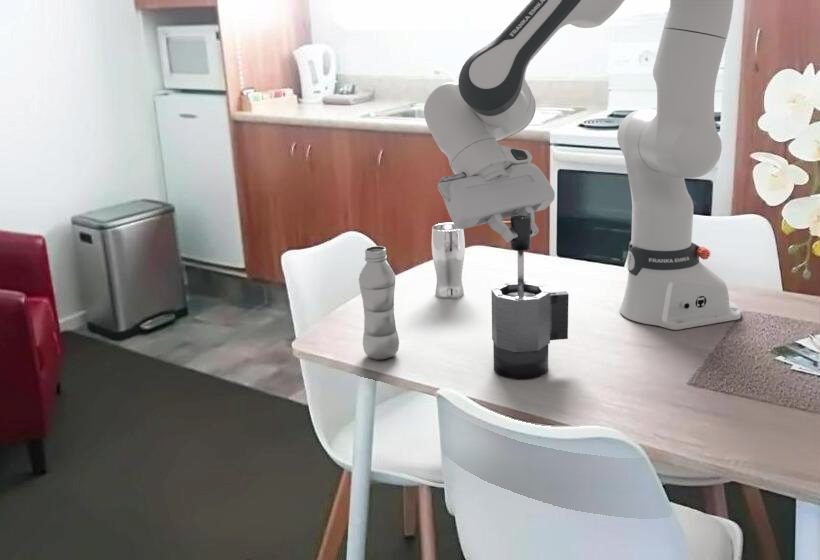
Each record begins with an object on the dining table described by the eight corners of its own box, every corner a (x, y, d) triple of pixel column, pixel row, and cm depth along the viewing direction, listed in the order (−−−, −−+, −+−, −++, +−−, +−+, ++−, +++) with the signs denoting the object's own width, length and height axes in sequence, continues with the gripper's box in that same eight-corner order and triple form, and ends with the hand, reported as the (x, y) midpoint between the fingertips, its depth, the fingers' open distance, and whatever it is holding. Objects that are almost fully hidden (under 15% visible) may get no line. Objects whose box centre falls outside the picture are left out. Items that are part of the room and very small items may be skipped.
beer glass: (463, 300, 179) (461, 231, 174) (430, 299, 180) (428, 230, 175) (468, 289, 185) (466, 222, 181) (436, 288, 187) (434, 222, 182)
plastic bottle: (405, 351, 154) (400, 245, 148) (389, 366, 149) (383, 256, 142) (373, 347, 157) (367, 242, 151) (356, 361, 151) (349, 253, 145)
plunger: (531, 293, 144) (532, 213, 140) (539, 303, 139) (539, 220, 135) (502, 296, 144) (502, 215, 139) (509, 306, 139) (508, 222, 135)
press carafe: (558, 353, 151) (559, 278, 146) (573, 375, 142) (575, 296, 137) (488, 359, 149) (487, 284, 145) (499, 381, 141) (499, 302, 136)
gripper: (441, 166, 134) (483, 239, 130) (535, 149, 145) (577, 215, 141) (425, 190, 139) (465, 260, 134) (517, 171, 150) (557, 236, 146)
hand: (523, 237), depth 138 cm, fingers closed on plunger, 3 cm apart
